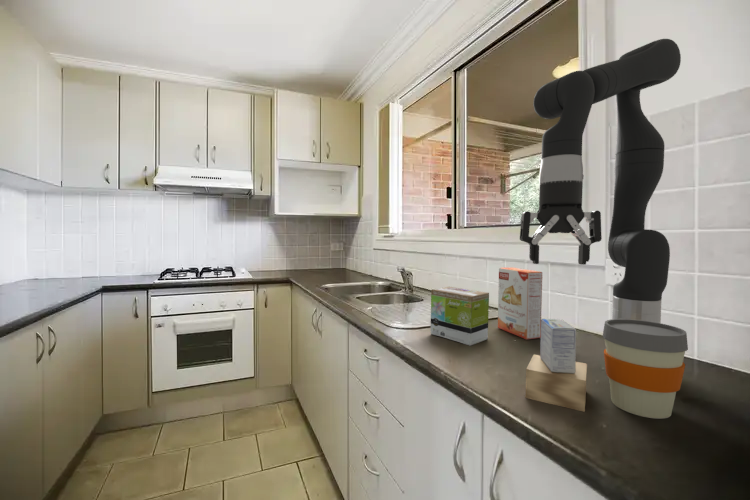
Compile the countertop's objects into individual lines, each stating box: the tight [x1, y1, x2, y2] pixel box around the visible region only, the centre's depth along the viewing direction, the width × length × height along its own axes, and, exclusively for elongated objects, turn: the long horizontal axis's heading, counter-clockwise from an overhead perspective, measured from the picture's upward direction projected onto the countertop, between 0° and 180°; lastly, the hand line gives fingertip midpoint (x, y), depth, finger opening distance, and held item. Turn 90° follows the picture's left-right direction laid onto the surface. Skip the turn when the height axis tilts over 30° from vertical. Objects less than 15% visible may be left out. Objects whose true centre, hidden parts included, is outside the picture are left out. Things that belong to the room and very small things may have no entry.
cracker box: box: [497, 267, 543, 340], centre depth 114 cm, size 14×6×21 cm, turn 17°
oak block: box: [524, 354, 588, 413], centre depth 70 cm, size 10×10×6 cm
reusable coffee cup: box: [602, 318, 689, 419], centre depth 66 cm, size 13×13×15 cm
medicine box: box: [539, 318, 577, 374], centre depth 70 cm, size 8×4×9 cm, turn 169°
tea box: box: [430, 286, 490, 347], centre depth 109 cm, size 15×10×15 cm
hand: (558, 263), depth 70 cm, fingers open, 8 cm apart
